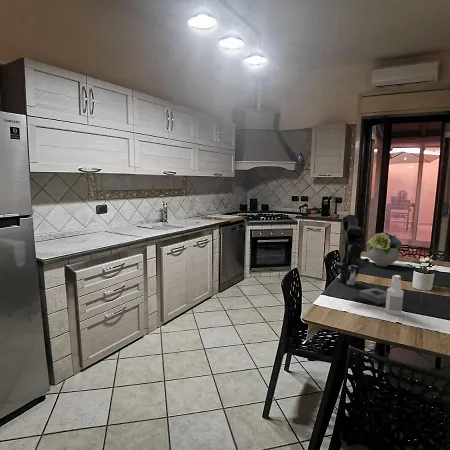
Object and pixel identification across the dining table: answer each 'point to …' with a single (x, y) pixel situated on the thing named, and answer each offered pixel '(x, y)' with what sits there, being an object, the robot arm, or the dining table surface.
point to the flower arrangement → (383, 249)
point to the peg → (352, 277)
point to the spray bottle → (394, 297)
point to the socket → (374, 295)
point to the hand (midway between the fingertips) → (350, 280)
